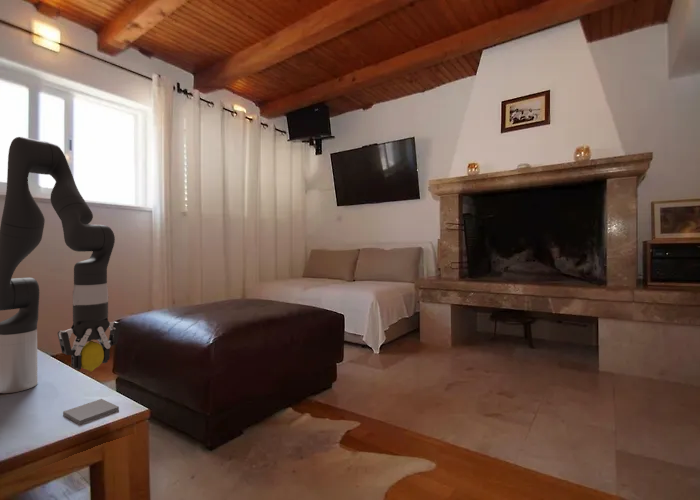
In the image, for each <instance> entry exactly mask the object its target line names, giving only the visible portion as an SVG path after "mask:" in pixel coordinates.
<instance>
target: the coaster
mask: <svg viewBox="0 0 700 500" xmlns="http://www.w3.org/2000/svg"><path fill="white" fill-rule="evenodd" d="M119 410H120V407H119V406H118V405H116V404H114V403H112V402H110V401H107V400H106V399H103V398H100V399H97V400H94V401H91V402H87V403H84V404H82V405H80V406H79V405H78V406H75V407H72V408H69V409H67V410H64V411H62V415H63V417H66V418H67V419H69V420H71V421H73V422H74V423H76V424H77V425H79V426H80V425H83V424H87V423H89V422H91V421H94V420H96V419H99V418H102V417H104V416H107V415H111V414H113V413H115V412H119Z"/></svg>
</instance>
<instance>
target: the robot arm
mask: <svg viewBox="0 0 700 500" xmlns="http://www.w3.org/2000/svg"><path fill="white" fill-rule="evenodd" d="M7 154H8V156H7V174H6V175H7V177H6V191H5V197H4V206H3V211H2V215H1V216H2V217H1V220H0V221H1V222H0V311H8V310H18V311H17V313H15V314H14V315H12V316H10V317H9V318H7V319H4V320H2V321H0V394H11V393H18V392H22V391H26V390H29V389H32V388H34V387H35V386H37V385H38V321H39V311H40V310H39V308H40V306H39V305H40V286H39V283H38V281H37V280H36V278H34V277H15V278H14V277H13V275H14V273H15V271H16V269H17V267H18V266H19V265H20V264H21V262H23V260H24V259H26V258H27V257H28V256H29V255H30V254H31V253H32V252H33V251H34V250H35V249H36V248H37V247H38V246H39V245H40V243H41V241H42V238H43V234H44V230H45V229H44V228H45V222H46V221H45V215H44V214H43V211H42V210H41V208H40V207H39V205H38V204H37V202H36V200H35V199H34V197H33V195H32V193H31V190H30V188H29V187H30V186H29V175H30V174H36V175H37V174H39V175H47V176H48V175H49V176H51V177H52V178H53V180H54V181H55V183H54V186H53V187H52V190H51V193H50V203H51V206H52V208H53V210H54V212H55V213H56V214H57V217H59V219H60V221H61V225H62V227H61V228H62V231H63V239H64V240H63V241H64V243H65V245H66V246H67V247H68V248H69V249H71V250H72V251H75V252H77V253H78V252H84V253H85V252H91V255H90V257H89V258H88V259H85V260H81V261H77V262H76V263H75V264H74V266H73V290H72V326H71V328H68V329H65V330H58V331H57V338H58V342H59V346H60V350H61V353H62V354H65V355H66V356H71V357H70V358H71V361H70V362H71V365H70V366H71V368H73V369H74V370H75V371H79V370H81V369H82V367H81V355H80V353H81V350H82V348H83V347H84V346H85V344H86V343H88V342H89V341H95V340H96V341H98V343H99V344H100V345H101V346H102V348H103V351H104V359H103V361H102V363H101V364H107V363H108V361H109V360H110V359H111V358H110V355H111V353H110V352H111V351H110V349H111V347H112V346H115V345H117V344H118V342H119V337H120V331H121V326H122V324H121V322H119V321H109V298H110V297H109V289H108V265H109V263H110V259H111V257H112V256H111V255H112V252H113V250H114V247H115V241H116V239H115V237H116V236H115V233H114V231H113V230H112V228H111V227H110V226H109V225H105V224H94V223H93V224H92V223H91V222H92V221H93V218H94V214H93V212H92V210H91V208H90V207H89V205H88V203H87V202H86V201H85V199H84V198H83V196H82V194H81V193H80V191H79V189H78V187H77V184H76V180H75V178H74V176H73V173H72V170H71V168H70V165H69V163H68V160H67V158H66V155H65V153H64V152H63V150H62V148H61V147H60V146H59V145H57V144H55V143H53V142H48V141H44V140H40V139H39V140H38V139H34V138H29V137H23V136H18V137H15V138H13V140H12V141H11V143H10V145H9V149H8V153H7ZM108 329H109V331H110V332H109V336H107V335H106V332H107V330H108ZM72 334H73V335H74V336H75V338H74V340H73V342H72V343H73V344H72V346H71V342H70V339H71V338H72Z"/></svg>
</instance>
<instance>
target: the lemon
mask: <svg viewBox="0 0 700 500" xmlns="http://www.w3.org/2000/svg"><path fill="white" fill-rule="evenodd" d="M80 355H81V369H84V370H87V371H88V372H93V371H95V369H96V368H99V367H100V366H101V364H103V363H102V361H103V359H104V351H103V348H102V346H101V345H100V343H99V342H97V341H94V340H91V341H88V342H86V344H85V346H84V347H83V348H82V350H81V353H80Z"/></svg>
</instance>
